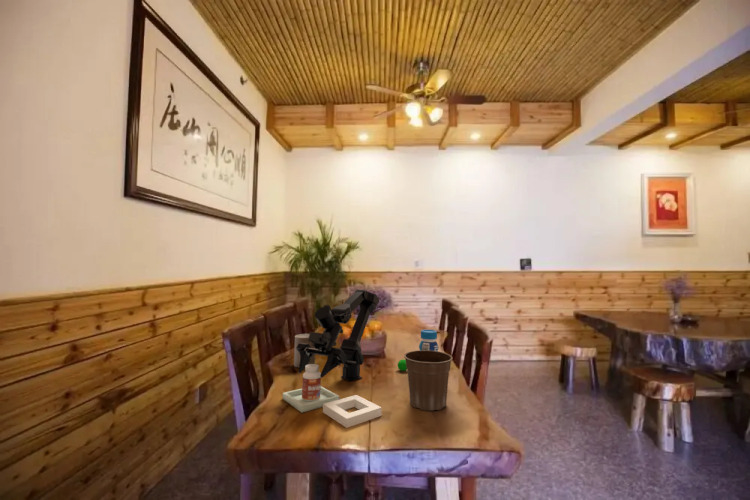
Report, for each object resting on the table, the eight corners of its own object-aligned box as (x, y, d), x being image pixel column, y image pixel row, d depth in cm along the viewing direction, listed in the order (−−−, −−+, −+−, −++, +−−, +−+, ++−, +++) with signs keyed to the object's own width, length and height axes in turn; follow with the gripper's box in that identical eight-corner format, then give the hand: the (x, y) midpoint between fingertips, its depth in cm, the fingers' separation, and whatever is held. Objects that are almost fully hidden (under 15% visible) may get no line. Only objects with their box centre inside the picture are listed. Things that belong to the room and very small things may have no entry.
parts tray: (318, 390, 122) (318, 384, 122) (339, 402, 112) (339, 396, 112) (282, 398, 113) (282, 392, 114) (301, 412, 103) (301, 406, 103)
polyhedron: (396, 369, 151) (397, 358, 152) (407, 369, 152) (407, 358, 152) (398, 372, 146) (398, 361, 147) (409, 372, 147) (409, 361, 147)
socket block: (356, 402, 112) (356, 394, 112) (381, 415, 102) (381, 407, 102) (322, 412, 103) (323, 403, 104) (346, 427, 93) (346, 418, 94)
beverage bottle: (414, 377, 140) (415, 329, 141) (432, 375, 143) (432, 328, 144) (424, 383, 132) (425, 333, 133) (442, 381, 135) (443, 332, 136)
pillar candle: (319, 364, 155) (320, 332, 156) (304, 369, 147) (305, 335, 148) (304, 361, 160) (305, 330, 162) (289, 366, 152) (290, 333, 153)
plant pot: (414, 416, 102) (414, 363, 103) (396, 397, 117) (397, 351, 118) (461, 411, 106) (461, 360, 107) (438, 393, 122) (438, 349, 123)
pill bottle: (307, 403, 108) (308, 369, 109) (298, 398, 113) (299, 365, 114) (323, 399, 112) (324, 366, 113) (314, 394, 117) (315, 362, 118)
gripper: (300, 320, 122) (277, 357, 112) (343, 325, 114) (323, 365, 103) (312, 338, 129) (292, 375, 118) (353, 344, 120) (336, 384, 110)
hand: (310, 374), depth 112 cm, fingers open, 9 cm apart
